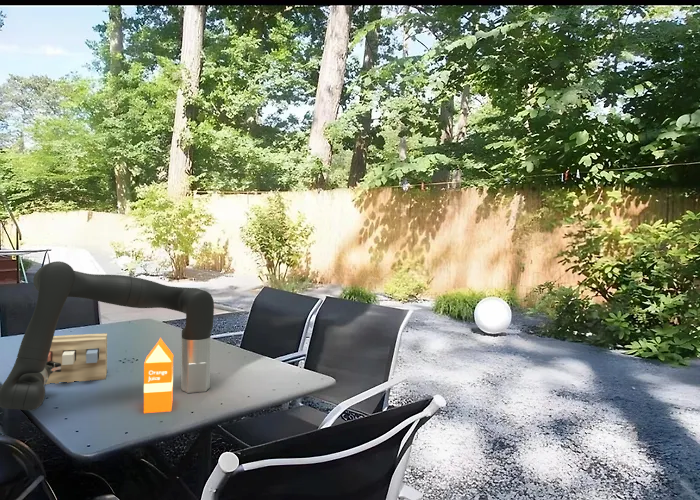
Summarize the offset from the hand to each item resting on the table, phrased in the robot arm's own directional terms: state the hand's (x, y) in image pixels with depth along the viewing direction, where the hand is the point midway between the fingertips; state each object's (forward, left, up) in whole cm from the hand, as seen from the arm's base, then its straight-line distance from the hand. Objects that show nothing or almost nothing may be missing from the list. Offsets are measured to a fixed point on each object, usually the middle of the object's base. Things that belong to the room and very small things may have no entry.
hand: (42, 361), depth 165 cm
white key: (+6, -7, -2) cm, 9 cm away
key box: (+10, -7, -9) cm, 15 cm away
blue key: (+6, -14, -2) cm, 15 cm away
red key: (+6, 0, -2) cm, 6 cm away
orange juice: (-28, -34, -9) cm, 45 cm away
